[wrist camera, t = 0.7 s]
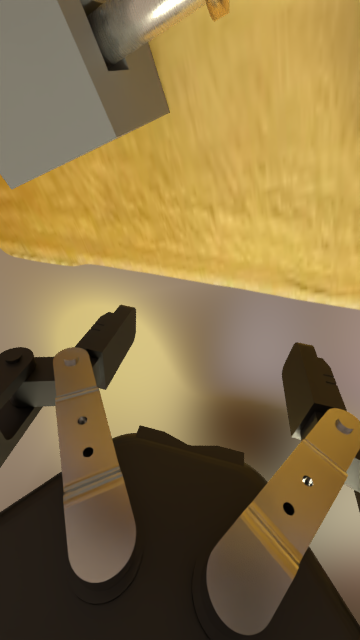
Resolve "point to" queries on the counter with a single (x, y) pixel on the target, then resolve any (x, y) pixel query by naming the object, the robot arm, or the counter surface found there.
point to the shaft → (141, 22)
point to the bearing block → (65, 88)
